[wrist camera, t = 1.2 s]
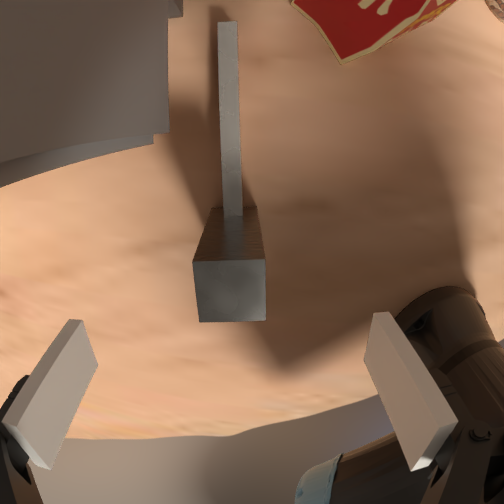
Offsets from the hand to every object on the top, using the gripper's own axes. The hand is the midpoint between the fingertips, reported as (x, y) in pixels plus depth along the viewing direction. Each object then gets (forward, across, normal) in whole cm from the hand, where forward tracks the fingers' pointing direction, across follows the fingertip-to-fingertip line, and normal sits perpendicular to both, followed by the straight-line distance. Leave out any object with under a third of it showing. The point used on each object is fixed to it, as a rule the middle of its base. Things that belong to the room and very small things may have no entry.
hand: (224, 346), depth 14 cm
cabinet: (+17, +18, -19) cm, 31 cm away
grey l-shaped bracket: (+17, 0, -8) cm, 19 cm away
